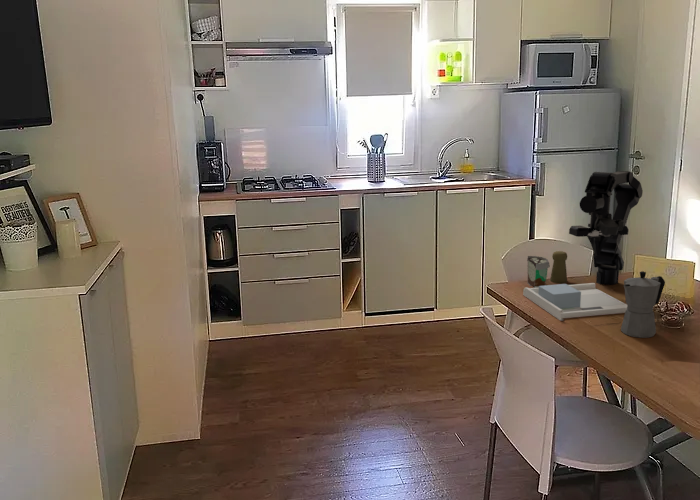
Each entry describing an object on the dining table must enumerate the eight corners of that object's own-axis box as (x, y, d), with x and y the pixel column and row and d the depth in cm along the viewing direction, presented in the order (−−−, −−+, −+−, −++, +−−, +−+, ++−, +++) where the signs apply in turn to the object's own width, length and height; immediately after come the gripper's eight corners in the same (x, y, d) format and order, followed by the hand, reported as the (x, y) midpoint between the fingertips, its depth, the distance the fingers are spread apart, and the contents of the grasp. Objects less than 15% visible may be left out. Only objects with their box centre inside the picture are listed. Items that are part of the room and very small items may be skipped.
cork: (565, 278, 236) (566, 249, 234) (569, 283, 230) (570, 253, 228) (548, 278, 237) (549, 249, 234) (551, 283, 231) (553, 253, 228)
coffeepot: (634, 341, 175) (639, 279, 171) (608, 331, 184) (612, 270, 179) (674, 332, 181) (679, 271, 177) (646, 322, 190) (651, 263, 186)
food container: (553, 291, 221) (554, 263, 219) (535, 292, 221) (536, 264, 219) (543, 281, 233) (544, 255, 231) (526, 282, 233) (527, 255, 231)
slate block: (564, 298, 211) (565, 283, 210) (580, 306, 202) (581, 291, 201) (538, 300, 210) (538, 286, 208) (552, 309, 201) (553, 294, 199)
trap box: (593, 289, 222) (594, 280, 222) (639, 313, 197) (639, 304, 196) (523, 295, 218) (523, 286, 218) (560, 320, 193) (561, 311, 192)
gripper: (587, 214, 204) (583, 261, 207) (640, 212, 207) (636, 259, 210) (569, 209, 215) (566, 254, 218) (620, 207, 218) (616, 252, 221)
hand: (596, 255), depth 216 cm, fingers closed
